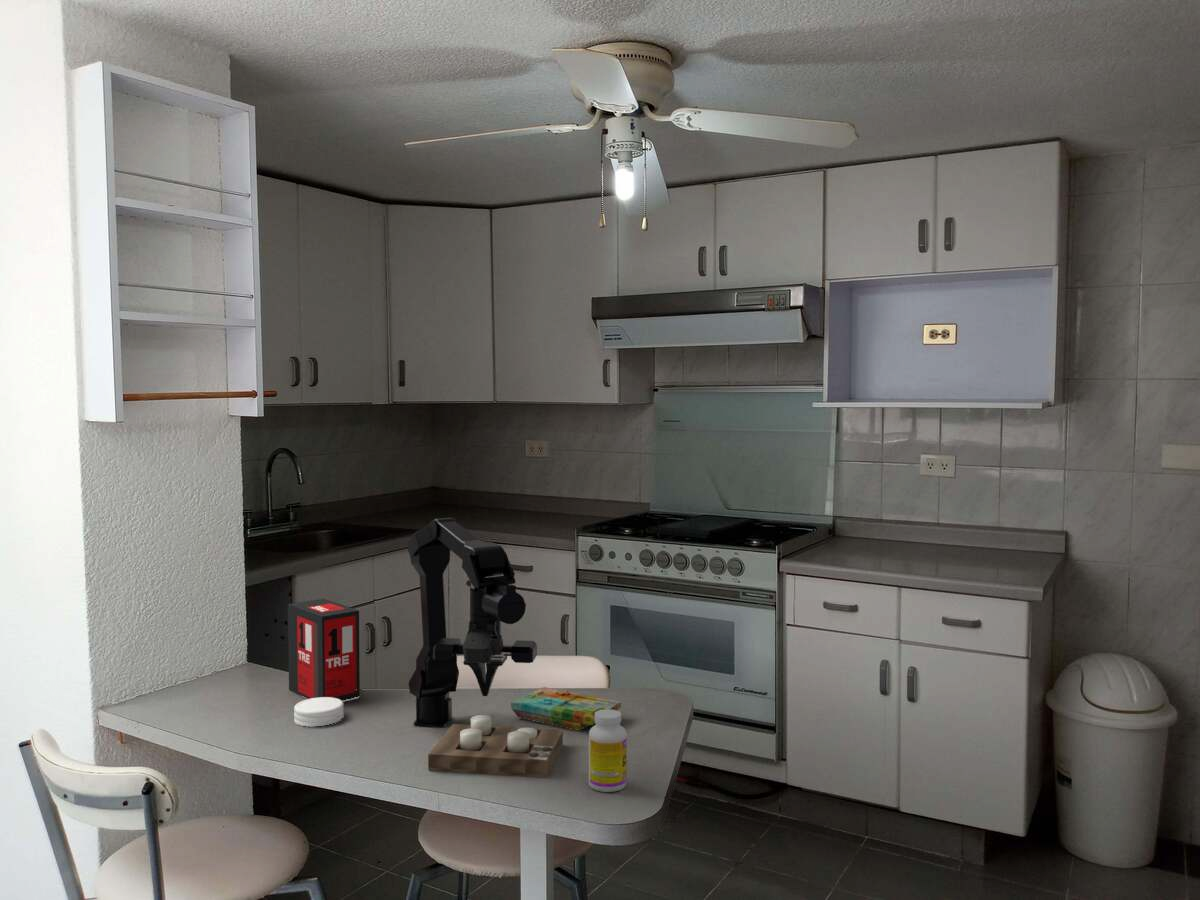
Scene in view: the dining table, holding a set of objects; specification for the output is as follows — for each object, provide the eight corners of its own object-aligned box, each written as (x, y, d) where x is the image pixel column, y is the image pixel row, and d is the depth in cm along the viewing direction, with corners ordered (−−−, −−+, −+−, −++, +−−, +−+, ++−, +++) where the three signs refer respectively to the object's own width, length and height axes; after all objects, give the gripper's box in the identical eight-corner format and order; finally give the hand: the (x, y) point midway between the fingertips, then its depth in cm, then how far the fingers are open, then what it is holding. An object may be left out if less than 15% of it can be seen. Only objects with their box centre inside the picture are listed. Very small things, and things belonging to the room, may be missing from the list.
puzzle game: (541, 683, 210) (621, 698, 200) (541, 704, 210) (621, 720, 200) (511, 698, 199) (593, 714, 190) (511, 720, 200) (593, 737, 190)
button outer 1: (457, 749, 174) (457, 735, 174) (463, 742, 178) (463, 727, 178) (478, 751, 174) (478, 736, 174) (484, 743, 178) (484, 729, 178)
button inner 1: (468, 735, 182) (468, 721, 182) (473, 728, 186) (473, 714, 186) (488, 736, 181) (488, 722, 181) (493, 729, 185) (493, 715, 185)
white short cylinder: (297, 731, 192) (296, 714, 192) (291, 716, 201) (291, 699, 201) (347, 724, 196) (347, 707, 196) (339, 709, 205) (339, 694, 205)
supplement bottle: (628, 793, 163) (628, 719, 162) (589, 794, 162) (590, 720, 161) (624, 777, 169) (624, 706, 169) (587, 778, 169) (587, 707, 168)
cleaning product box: (288, 690, 218) (287, 604, 217) (324, 682, 224) (323, 598, 223) (322, 707, 206) (322, 616, 205) (359, 698, 212) (359, 610, 211)
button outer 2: (505, 752, 173) (505, 738, 173) (510, 744, 177) (510, 730, 177) (526, 753, 173) (526, 739, 173) (531, 745, 177) (531, 731, 177)
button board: (428, 770, 172) (428, 752, 172) (453, 738, 188) (453, 722, 188) (547, 777, 169) (547, 759, 169) (562, 744, 185) (562, 728, 185)
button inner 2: (514, 748, 181) (514, 734, 181) (518, 740, 185) (518, 727, 185) (534, 749, 180) (534, 735, 180) (538, 741, 184) (539, 728, 184)
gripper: (424, 621, 169) (424, 707, 170) (527, 625, 167) (527, 711, 168) (440, 608, 180) (440, 688, 181) (537, 610, 178) (537, 692, 179)
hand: (485, 695), depth 177 cm, fingers closed
